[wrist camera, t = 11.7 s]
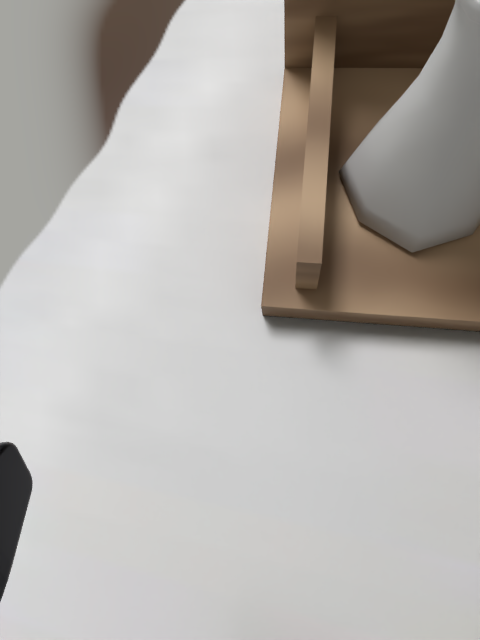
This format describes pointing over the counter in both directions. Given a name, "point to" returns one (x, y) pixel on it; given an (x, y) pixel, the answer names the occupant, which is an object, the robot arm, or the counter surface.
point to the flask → (426, 148)
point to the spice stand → (329, 157)
